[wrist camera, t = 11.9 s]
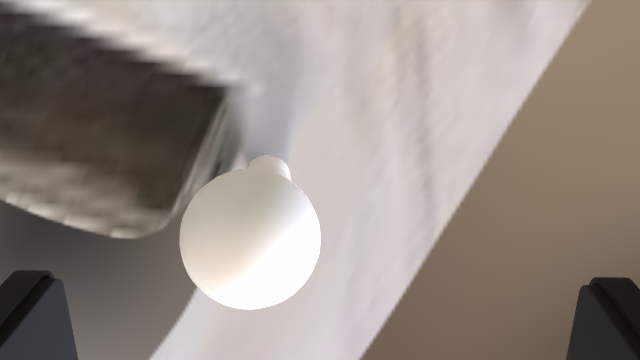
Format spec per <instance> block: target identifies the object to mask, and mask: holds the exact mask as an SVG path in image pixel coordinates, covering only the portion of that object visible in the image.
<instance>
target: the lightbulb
mask: <svg viewBox="0 0 640 360" xmlns="http://www.w3.org/2000/svg"><path fill="white" fill-rule="evenodd" d="M320 242H321V235H320V225H319V221H318V218H317V215H316V212H315V210H314V208H313V206H312V204H311V203H310V201H309V199H308V197H307V196H306V195H305V194H304V193H303V192H302V190H301V189H300V188H299V187H298V186H296V185H295V184H294V183H293V182H291V179H290V172H289V169H288V167H287V165H286V164H285V163H284V162H283V161H282V160H281V159H279V158H277V157H275V156H272V155H262V156H258V157H256V158H254V159H253V160H252V161H251V162H250V163H249V164H248V166H247V167H246V168H245V169H239V170H235V171H231V172H227V173H225V174H223V175H221V176H219V177H216V178H215V179H213V180H212V181H210V182H209V183H208V184H206V185H205V186H204V187H202V188H201V189H200V190H199V191H198V192H197V194H196V195H195V196H194V197H193V198H192V200H191V202H190V204H189V206H188V208H187V209H186V211H185V213H184V216H183V219H182V223H181V227H180V250H181V256H182V260H183V263H184V266H185V268H186V270H187V273H188V274H189V276H190V277H191V279H192V280H193V282H194V283H195V284H196V285H197V286H198V287H199V288H200V289H201V290H202V291H203V292H204V293H205V294H206V295H208V296H209V297H211V298H212V299H214V300H215V301H217V302H219V303H222V304H224V305H227V306H230V307H234V308H240V309H259V308H263V307H268V306H272V305H275V304H277V303H279V302H282V301H284V300H285V299H287V298H289V297H290V296H292V295H293V294H294V293H295V292H296V291H297V290H298V289H299V288H300V287H301V286H302V285H303V284H304V283H305V282H306V280H307V279H308V277H309V276H310V274H311V273H312V271H313V269H314V267H315V264H316V261H317V259H318V256H319V250H320Z"/></svg>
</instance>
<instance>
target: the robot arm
mask: <svg viewBox="0 0 640 360" xmlns="http://www.w3.org/2000/svg"><path fill="white" fill-rule="evenodd" d="M0 360H78V356H77V351H76V346H75V341H74V335H73V330H72V325H71V320H70V314H69V309H68V304H67V299H66V294H65V289H64V285H63V282H62V281H61V280H60V279H55V278H54V275H53V274H52V272H50V271H36V270H31V271H30V270H19V271H15V272H13V273H12V274H11V275H10V276H9V277H8V278H7V279H6V280H5V281H4V283H3V284H2V285H1V286H0ZM566 360H640V289H639V288H638V287H637V286H636V285H635V284H634V282H633V281H632V280H630V279H629V278H615V277H612V278H611V277H595V278H593V279H592V280H591V282H590V284H589V285H584V286H582V287H581V289H580V292H579V296H578V301H577V306H576V311H575V316H574V322H573V327H572V332H571V337H570V342H569V348H568V353H567V358H566Z"/></svg>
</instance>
